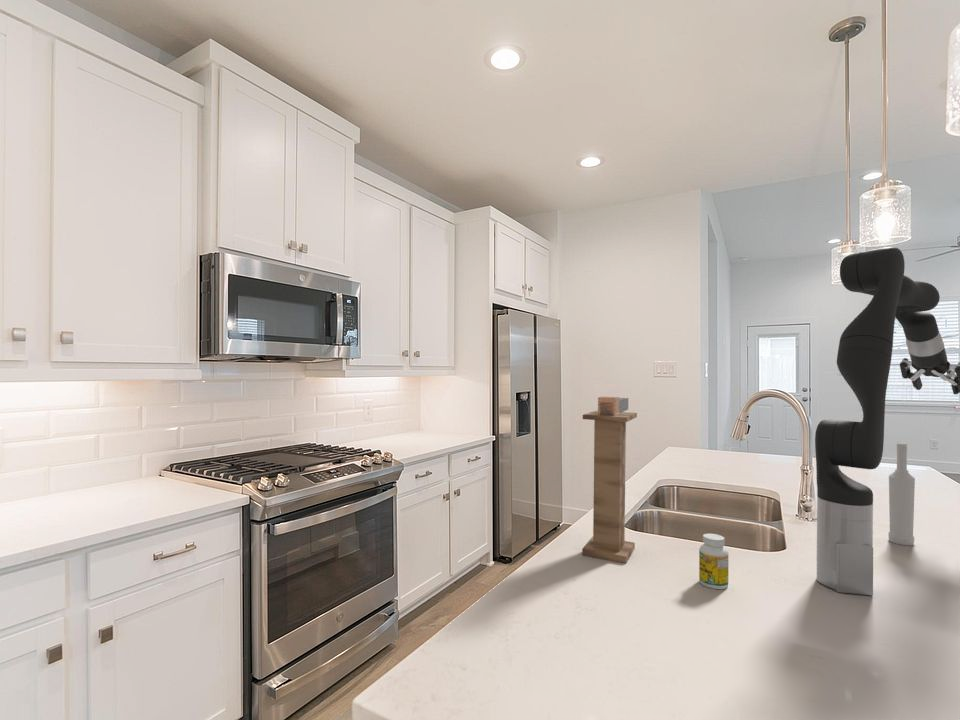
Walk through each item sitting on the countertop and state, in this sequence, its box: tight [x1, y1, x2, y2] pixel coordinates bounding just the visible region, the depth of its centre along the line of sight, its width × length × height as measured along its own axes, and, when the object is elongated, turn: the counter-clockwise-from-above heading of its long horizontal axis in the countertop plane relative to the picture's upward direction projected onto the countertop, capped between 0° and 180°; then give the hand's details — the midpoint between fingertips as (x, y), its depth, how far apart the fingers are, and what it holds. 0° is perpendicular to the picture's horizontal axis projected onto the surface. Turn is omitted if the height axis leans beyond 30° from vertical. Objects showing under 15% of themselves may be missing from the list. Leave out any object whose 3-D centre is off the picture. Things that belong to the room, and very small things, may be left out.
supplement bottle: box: [698, 533, 729, 590], centre depth 102 cm, size 5×5×10 cm
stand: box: [581, 410, 638, 564], centre depth 119 cm, size 12×10×32 cm
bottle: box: [887, 442, 916, 546], centre depth 129 cm, size 5×5×25 cm
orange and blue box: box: [597, 396, 629, 416], centre depth 124 cm, size 18×4×4 cm, turn 153°
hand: (937, 390), depth 146 cm, fingers open, 8 cm apart
